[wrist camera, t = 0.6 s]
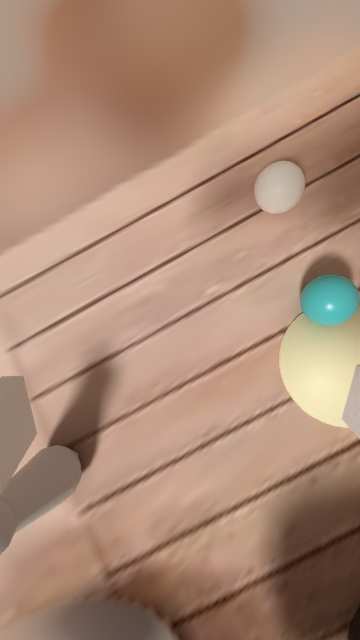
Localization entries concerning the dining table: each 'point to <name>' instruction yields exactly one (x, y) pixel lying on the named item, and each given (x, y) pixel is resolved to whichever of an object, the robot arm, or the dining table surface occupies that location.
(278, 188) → the cue ball
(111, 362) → the dining table surface
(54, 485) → the salt shaker
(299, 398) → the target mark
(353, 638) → the robot arm
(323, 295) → the teal ball
